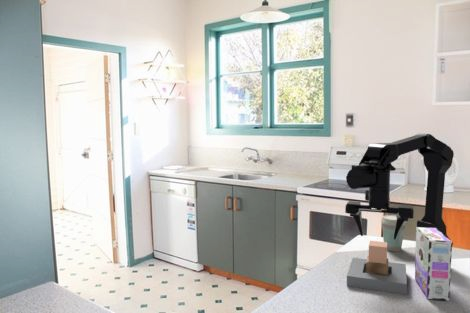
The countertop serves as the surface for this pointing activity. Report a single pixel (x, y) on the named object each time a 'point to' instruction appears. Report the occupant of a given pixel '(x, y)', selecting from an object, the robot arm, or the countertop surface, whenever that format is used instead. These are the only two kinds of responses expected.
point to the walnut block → (377, 268)
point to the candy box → (433, 263)
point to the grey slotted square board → (378, 277)
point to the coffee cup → (392, 233)
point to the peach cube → (378, 252)
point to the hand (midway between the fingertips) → (378, 237)
